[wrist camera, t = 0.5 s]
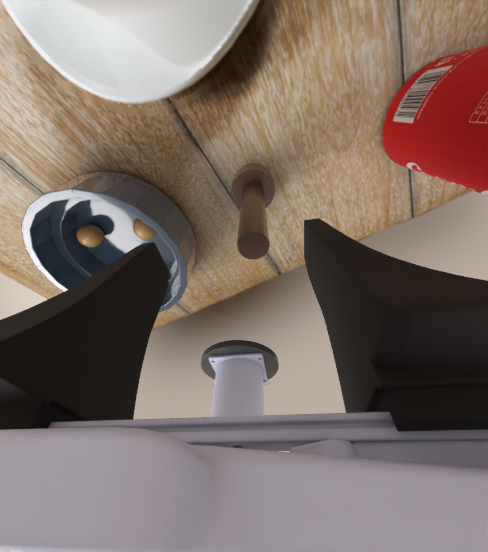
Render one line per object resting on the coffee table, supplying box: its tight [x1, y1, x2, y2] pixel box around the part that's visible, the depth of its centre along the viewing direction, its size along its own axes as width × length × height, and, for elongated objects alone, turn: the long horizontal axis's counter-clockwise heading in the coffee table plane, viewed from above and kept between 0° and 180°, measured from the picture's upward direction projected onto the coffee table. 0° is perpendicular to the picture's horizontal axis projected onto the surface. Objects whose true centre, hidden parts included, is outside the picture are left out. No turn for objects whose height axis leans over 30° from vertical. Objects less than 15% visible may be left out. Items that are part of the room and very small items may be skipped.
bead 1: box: [76, 224, 104, 247], centre depth 20 cm, size 2×2×2 cm
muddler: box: [232, 164, 274, 259], centre depth 15 cm, size 3×3×9 cm
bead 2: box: [133, 217, 157, 240], centre depth 19 cm, size 2×2×2 cm
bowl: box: [21, 171, 196, 313], centre depth 20 cm, size 12×12×4 cm
